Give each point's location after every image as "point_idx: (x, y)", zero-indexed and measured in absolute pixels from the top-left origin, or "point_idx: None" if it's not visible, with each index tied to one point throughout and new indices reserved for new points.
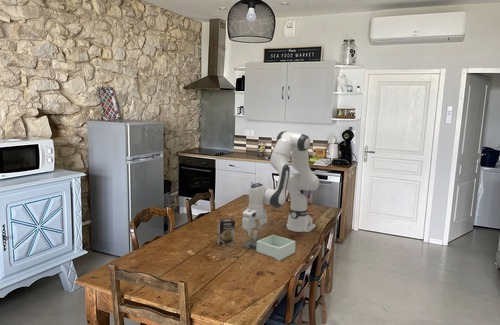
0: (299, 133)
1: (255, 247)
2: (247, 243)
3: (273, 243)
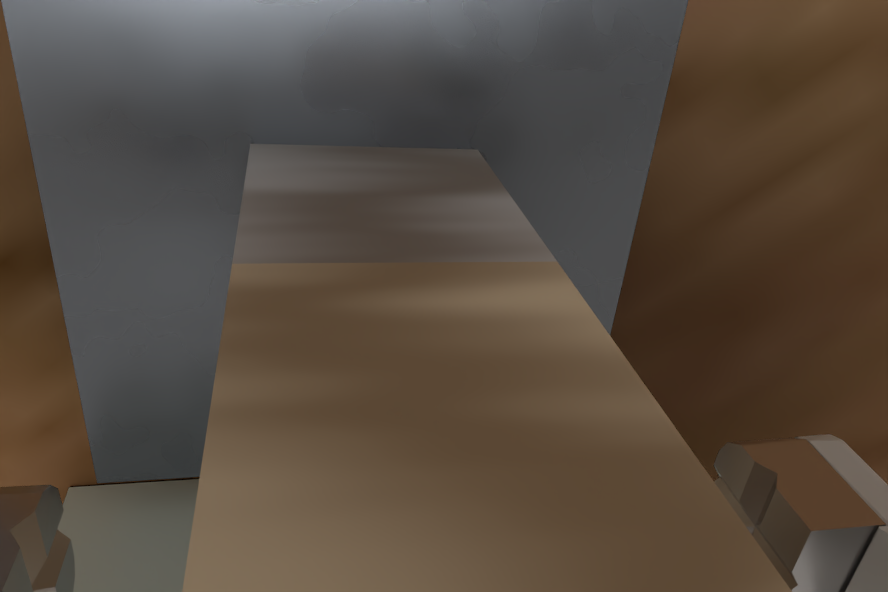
0: None
1: None
2: (308, 24)
3: None
